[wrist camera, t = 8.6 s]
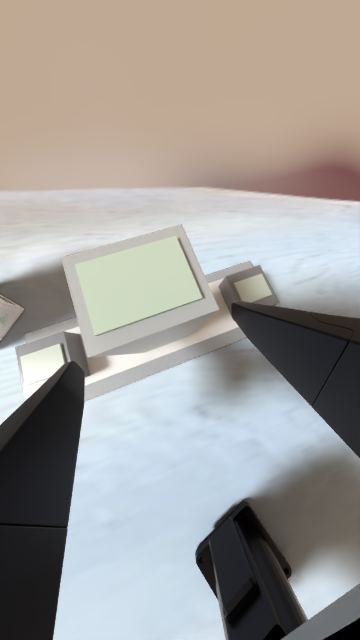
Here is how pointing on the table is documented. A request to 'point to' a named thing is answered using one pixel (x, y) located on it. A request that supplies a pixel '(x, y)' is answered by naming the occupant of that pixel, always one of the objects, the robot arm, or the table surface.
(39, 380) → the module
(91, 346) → the panel
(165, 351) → the rail
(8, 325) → the syrup box
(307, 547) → the table surface
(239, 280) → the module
